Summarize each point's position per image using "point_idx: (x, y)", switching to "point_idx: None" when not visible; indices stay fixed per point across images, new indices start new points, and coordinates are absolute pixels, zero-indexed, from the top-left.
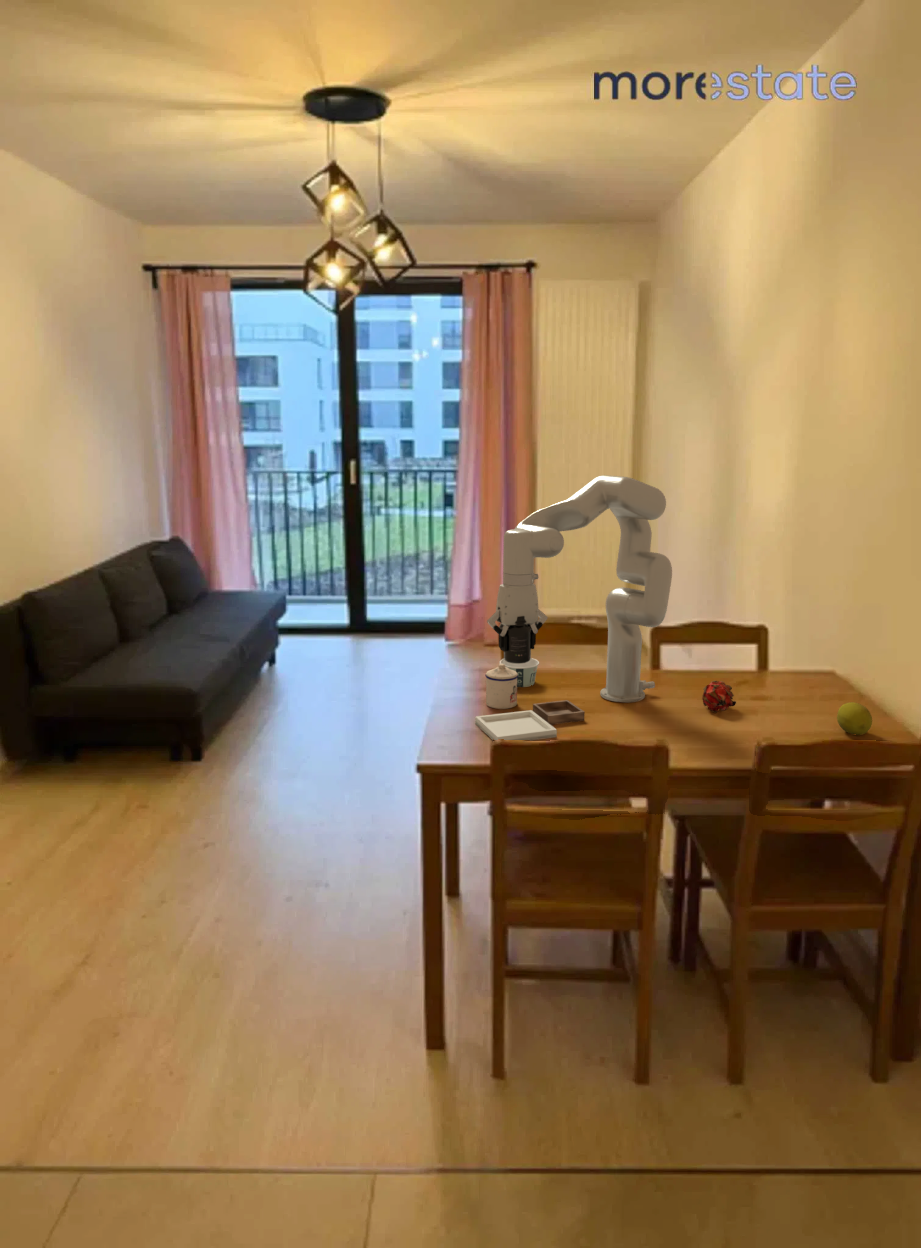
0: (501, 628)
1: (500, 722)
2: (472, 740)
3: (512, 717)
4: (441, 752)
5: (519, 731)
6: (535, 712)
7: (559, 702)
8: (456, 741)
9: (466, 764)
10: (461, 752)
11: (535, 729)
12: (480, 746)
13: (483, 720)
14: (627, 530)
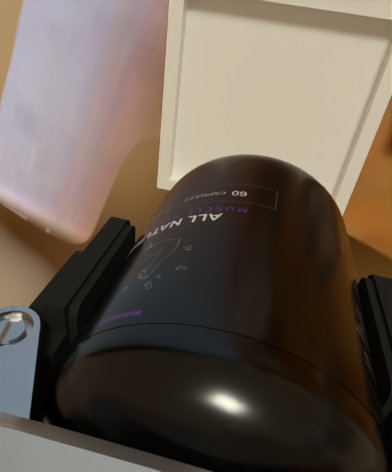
0: (6, 384)
1: (251, 37)
2: (114, 116)
3: (322, 9)
4: (20, 150)
5: (256, 148)
6: None
7: None
8: (71, 101)
9: (59, 233)
10: (65, 174)
11: (311, 158)
12: (119, 165)
13: (180, 32)
14: None
